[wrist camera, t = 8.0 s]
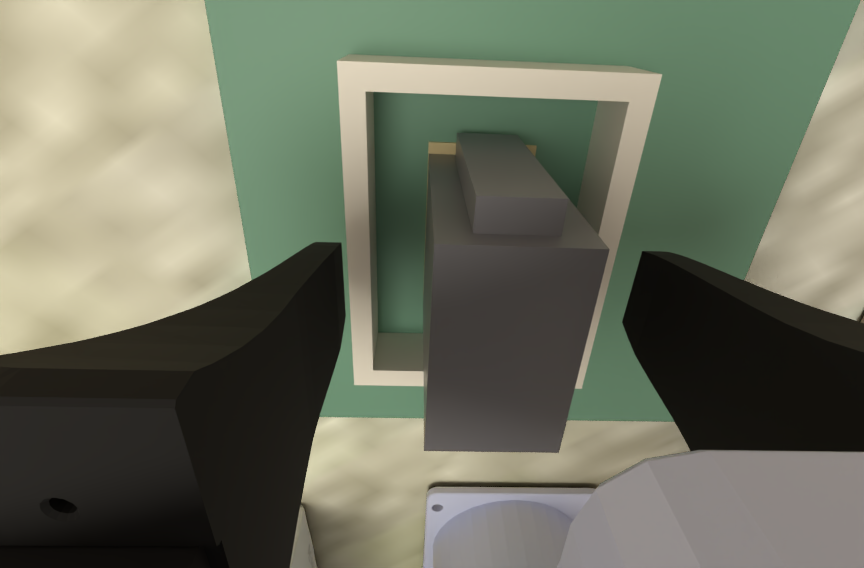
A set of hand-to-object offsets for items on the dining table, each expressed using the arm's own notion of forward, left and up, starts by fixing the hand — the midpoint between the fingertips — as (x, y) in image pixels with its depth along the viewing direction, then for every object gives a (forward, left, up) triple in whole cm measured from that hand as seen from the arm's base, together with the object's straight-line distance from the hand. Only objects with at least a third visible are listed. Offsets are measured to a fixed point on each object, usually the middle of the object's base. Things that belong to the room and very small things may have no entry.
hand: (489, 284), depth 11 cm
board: (0, -1, -4) cm, 5 cm away
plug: (0, 0, -3) cm, 3 cm away
